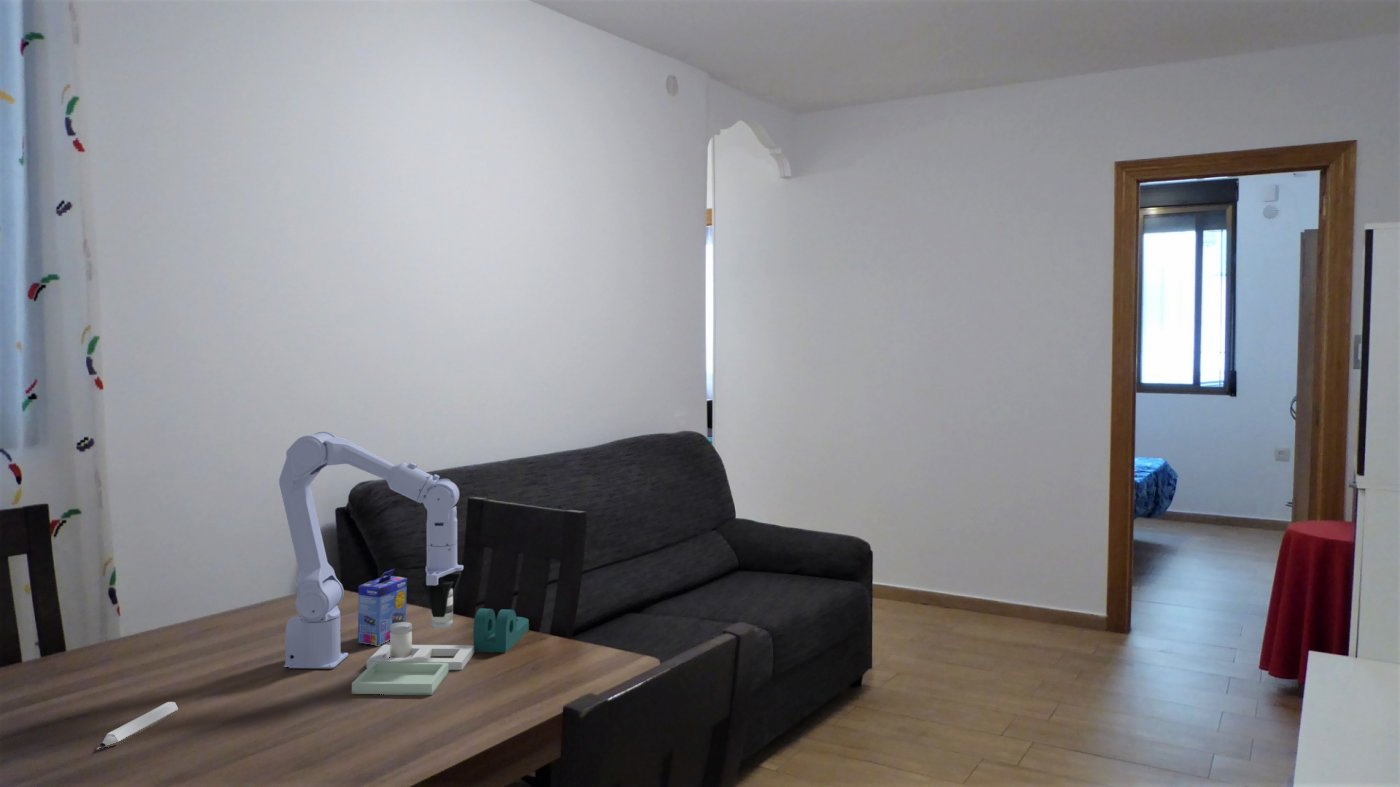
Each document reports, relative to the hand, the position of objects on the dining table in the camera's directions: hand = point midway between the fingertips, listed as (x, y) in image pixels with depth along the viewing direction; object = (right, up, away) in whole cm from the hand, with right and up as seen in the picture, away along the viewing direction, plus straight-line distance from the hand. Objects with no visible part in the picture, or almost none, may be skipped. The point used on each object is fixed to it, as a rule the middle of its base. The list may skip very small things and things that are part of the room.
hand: (442, 613), depth 183 cm
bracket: (+9, -9, +15) cm, 20 cm away
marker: (-39, -11, -34) cm, 53 cm away
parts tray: (-4, -10, -12) cm, 16 cm away
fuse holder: (-4, -9, +1) cm, 10 cm away
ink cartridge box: (-16, -9, +14) cm, 23 cm away
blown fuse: (0, -2, 0) cm, 2 cm away
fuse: (-8, -9, 0) cm, 12 cm away
